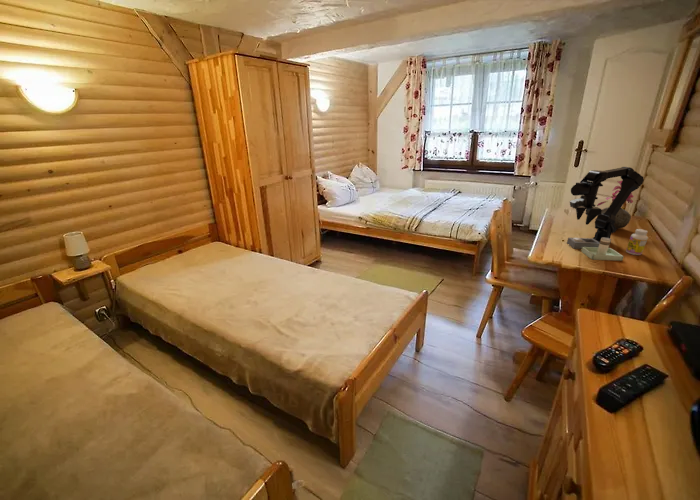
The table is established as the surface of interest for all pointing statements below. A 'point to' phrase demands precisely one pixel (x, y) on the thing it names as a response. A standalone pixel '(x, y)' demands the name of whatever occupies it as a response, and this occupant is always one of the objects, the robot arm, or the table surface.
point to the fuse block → (582, 242)
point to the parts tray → (609, 255)
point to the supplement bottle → (637, 242)
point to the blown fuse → (603, 246)
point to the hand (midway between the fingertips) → (582, 221)
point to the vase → (622, 214)
